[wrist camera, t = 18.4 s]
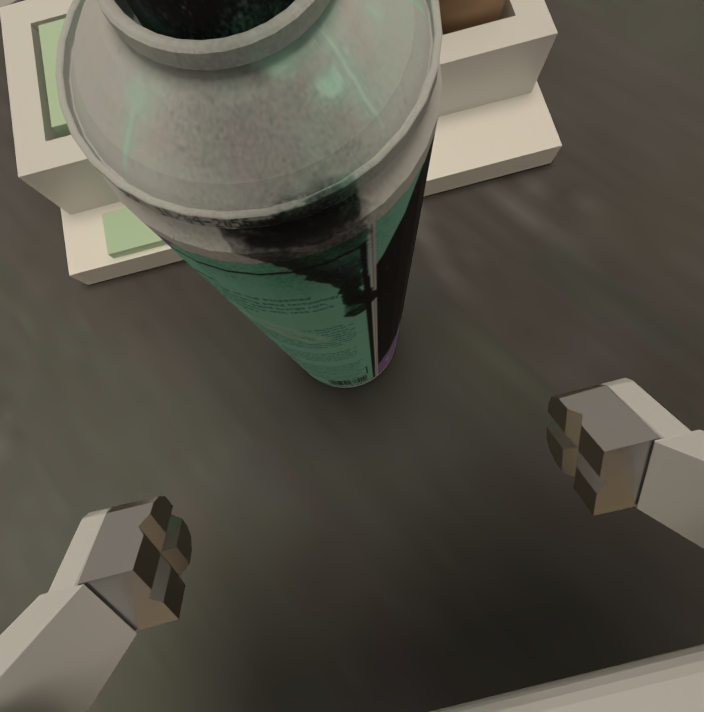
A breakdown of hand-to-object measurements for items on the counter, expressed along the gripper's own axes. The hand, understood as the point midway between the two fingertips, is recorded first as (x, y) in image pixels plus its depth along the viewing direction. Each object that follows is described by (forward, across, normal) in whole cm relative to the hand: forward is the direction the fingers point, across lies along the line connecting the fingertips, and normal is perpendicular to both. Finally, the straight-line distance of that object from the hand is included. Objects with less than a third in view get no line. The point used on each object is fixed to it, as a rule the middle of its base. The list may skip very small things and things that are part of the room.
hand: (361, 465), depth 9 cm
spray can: (+14, 0, +5) cm, 15 cm away
